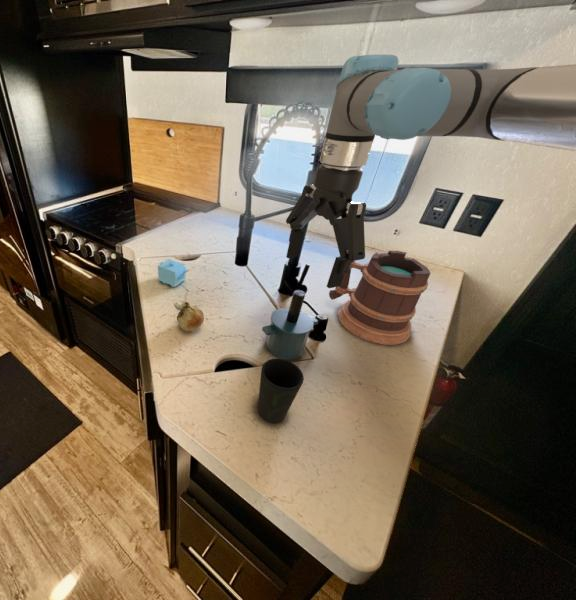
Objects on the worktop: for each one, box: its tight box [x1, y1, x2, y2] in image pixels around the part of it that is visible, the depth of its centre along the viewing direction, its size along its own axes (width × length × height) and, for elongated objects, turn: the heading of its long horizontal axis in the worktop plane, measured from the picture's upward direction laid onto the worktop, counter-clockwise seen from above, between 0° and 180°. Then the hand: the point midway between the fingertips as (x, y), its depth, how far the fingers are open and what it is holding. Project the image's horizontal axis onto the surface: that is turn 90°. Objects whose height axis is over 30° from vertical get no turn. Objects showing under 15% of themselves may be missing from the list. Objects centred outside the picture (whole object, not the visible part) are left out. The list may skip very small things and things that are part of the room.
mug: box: [328, 250, 431, 346], centre depth 85 cm, size 18×23×20 cm
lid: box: [270, 289, 315, 335], centre depth 74 cm, size 10×10×9 cm
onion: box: [173, 301, 205, 332], centre depth 85 cm, size 8×8×8 cm
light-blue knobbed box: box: [157, 259, 190, 288], centre depth 105 cm, size 12×6×8 cm, turn 54°
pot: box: [261, 315, 319, 361], centre depth 79 cm, size 9×15×8 cm, turn 108°
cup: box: [257, 357, 305, 424], centre depth 62 cm, size 8×8×12 cm
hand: (311, 270), depth 67 cm, fingers open, 13 cm apart
